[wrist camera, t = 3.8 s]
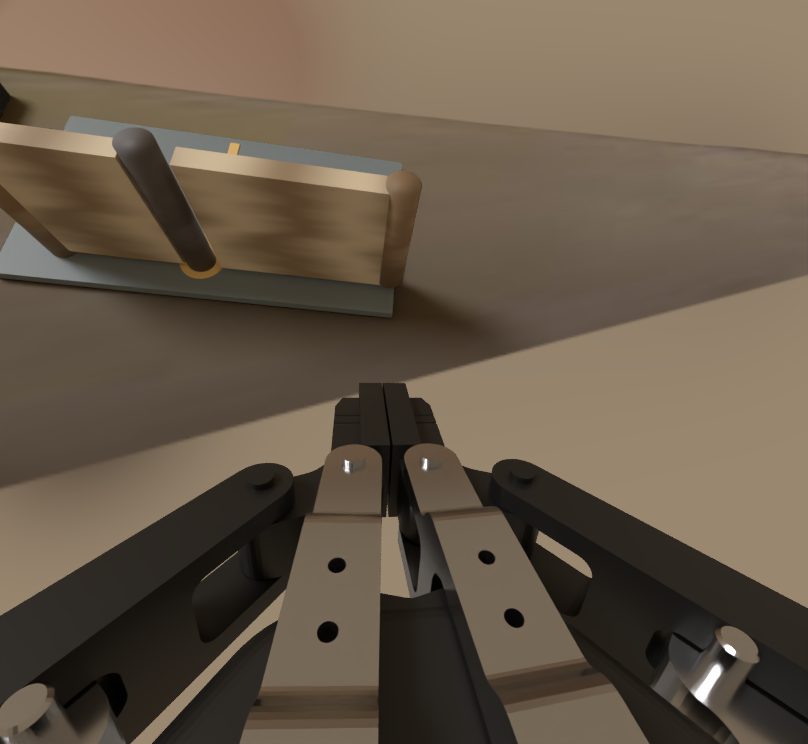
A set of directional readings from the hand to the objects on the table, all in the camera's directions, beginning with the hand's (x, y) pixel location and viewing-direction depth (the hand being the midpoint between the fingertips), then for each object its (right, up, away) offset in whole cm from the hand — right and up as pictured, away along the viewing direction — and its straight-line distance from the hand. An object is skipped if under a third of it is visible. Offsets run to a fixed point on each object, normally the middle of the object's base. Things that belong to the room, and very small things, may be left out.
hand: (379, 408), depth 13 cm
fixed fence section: (-17, +9, +13) cm, 23 cm away
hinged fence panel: (-5, +8, +14) cm, 17 cm away
